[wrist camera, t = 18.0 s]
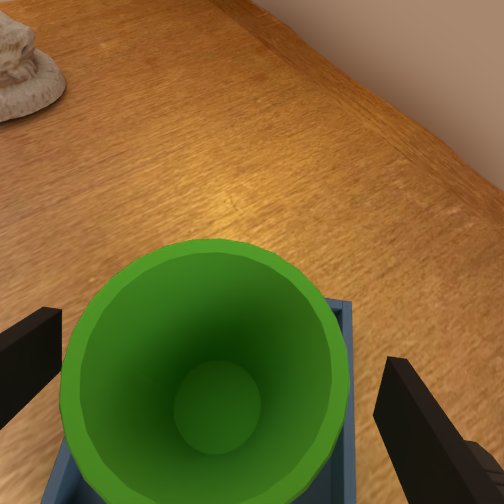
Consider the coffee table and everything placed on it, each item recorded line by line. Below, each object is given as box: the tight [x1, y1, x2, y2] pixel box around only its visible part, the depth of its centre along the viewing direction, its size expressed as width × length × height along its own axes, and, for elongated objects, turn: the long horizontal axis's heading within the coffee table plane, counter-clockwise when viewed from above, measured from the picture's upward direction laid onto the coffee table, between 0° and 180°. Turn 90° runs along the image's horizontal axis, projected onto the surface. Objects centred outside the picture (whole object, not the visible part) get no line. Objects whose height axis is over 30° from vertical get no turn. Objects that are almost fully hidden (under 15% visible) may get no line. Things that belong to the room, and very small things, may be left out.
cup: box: [59, 239, 350, 504], centre depth 16 cm, size 9×9×11 cm
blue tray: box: [41, 298, 356, 504], centre depth 20 cm, size 14×13×3 cm
